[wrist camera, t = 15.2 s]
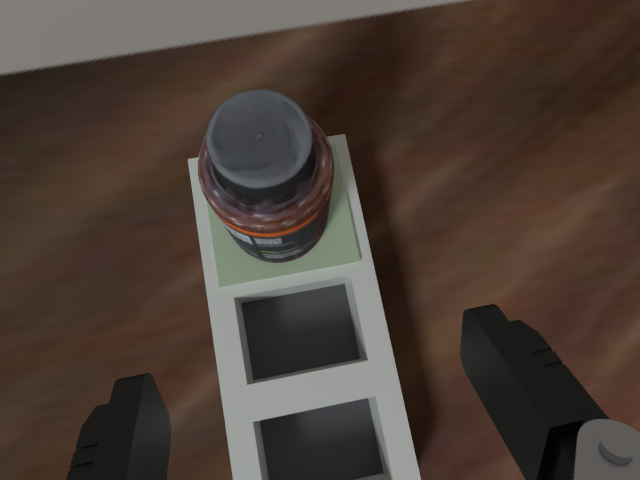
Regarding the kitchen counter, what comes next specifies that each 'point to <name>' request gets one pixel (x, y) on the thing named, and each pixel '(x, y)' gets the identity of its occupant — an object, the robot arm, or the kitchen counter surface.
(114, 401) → the robot arm
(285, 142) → the supplement bottle
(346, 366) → the board
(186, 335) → the kitchen counter surface
